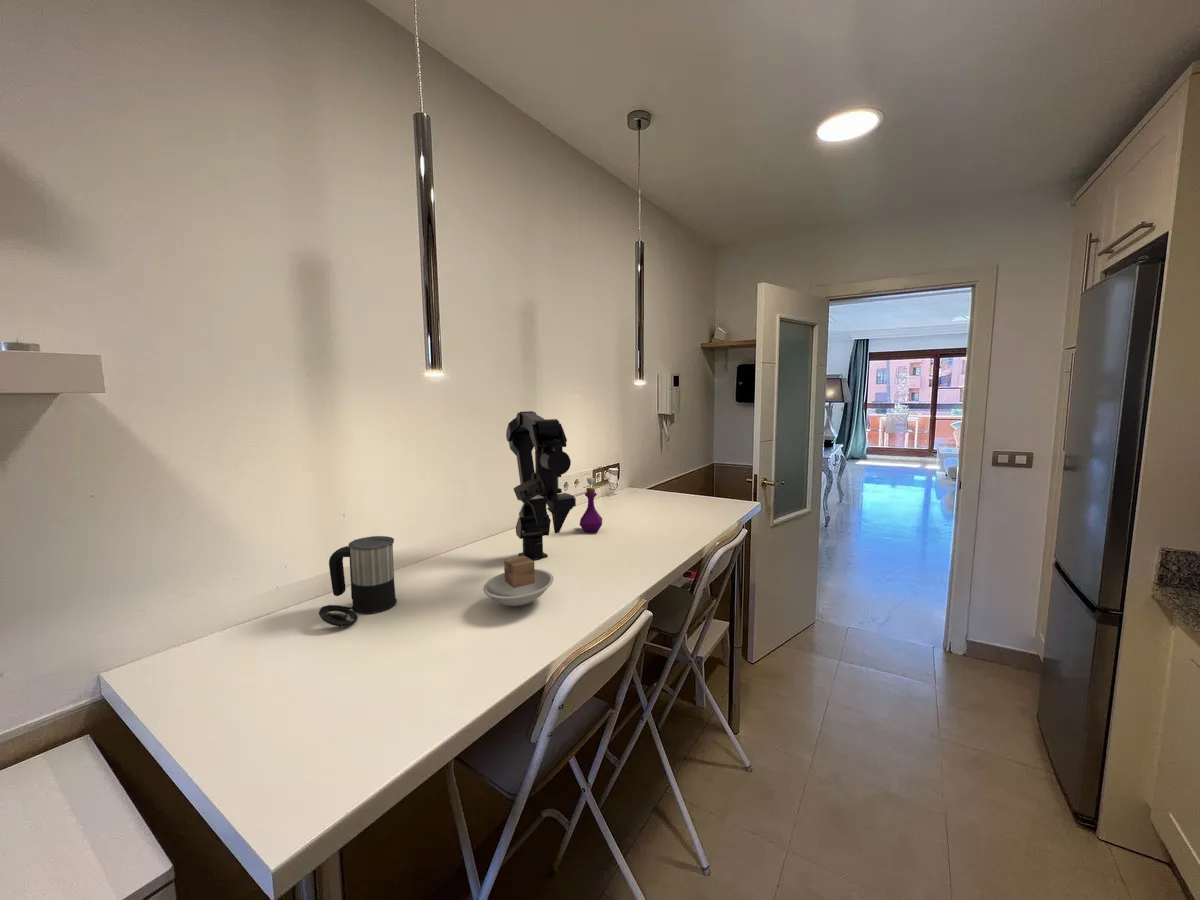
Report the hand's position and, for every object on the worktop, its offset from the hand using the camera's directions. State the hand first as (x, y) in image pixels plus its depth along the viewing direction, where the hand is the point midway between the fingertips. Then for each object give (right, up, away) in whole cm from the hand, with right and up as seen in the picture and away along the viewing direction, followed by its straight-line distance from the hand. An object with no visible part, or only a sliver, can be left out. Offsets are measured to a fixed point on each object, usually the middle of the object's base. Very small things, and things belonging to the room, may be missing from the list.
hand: (547, 529), depth 129 cm
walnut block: (-5, -9, -17) cm, 20 cm away
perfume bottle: (+10, -7, +41) cm, 43 cm away
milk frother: (-38, -15, -21) cm, 46 cm away
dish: (-5, -14, -16) cm, 22 cm away
